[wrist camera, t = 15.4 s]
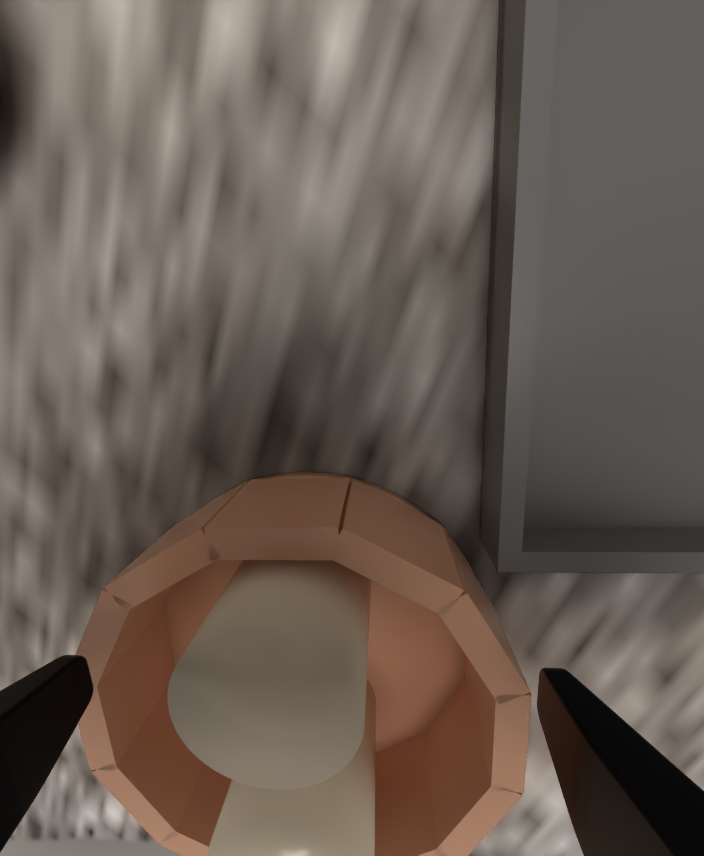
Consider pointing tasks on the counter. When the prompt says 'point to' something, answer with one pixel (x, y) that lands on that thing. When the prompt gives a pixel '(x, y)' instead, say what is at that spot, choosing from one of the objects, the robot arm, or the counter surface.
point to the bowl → (386, 667)
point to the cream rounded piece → (306, 811)
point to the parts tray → (596, 290)
